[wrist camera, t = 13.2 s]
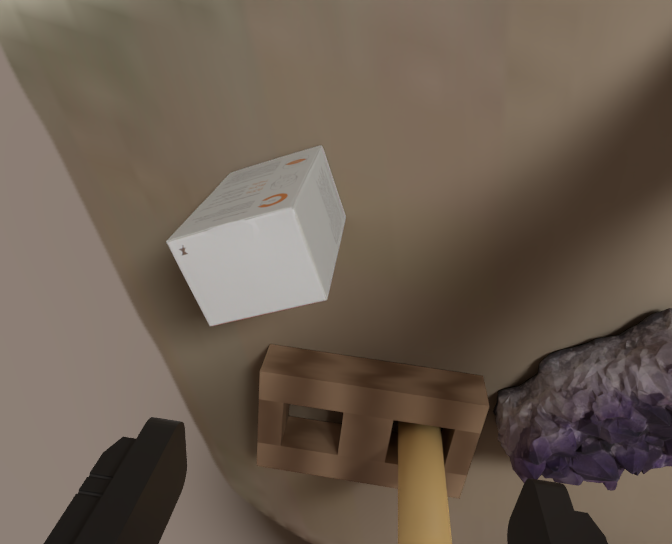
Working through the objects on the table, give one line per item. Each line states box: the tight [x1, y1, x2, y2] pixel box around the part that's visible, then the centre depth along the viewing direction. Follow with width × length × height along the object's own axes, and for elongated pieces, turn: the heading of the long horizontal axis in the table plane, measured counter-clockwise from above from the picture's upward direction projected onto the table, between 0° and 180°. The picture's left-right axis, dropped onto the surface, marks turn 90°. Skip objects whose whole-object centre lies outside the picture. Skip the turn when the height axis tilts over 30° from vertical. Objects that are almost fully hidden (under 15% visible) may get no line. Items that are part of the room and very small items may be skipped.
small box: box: [166, 145, 346, 326], centre depth 35 cm, size 8×6×13 cm
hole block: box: [257, 344, 489, 499], centre depth 49 cm, size 20×12×4 cm, turn 84°
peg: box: [398, 421, 452, 544], centre depth 44 cm, size 4×4×14 cm
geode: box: [493, 308, 672, 490], centre depth 42 cm, size 20×12×10 cm, turn 126°
